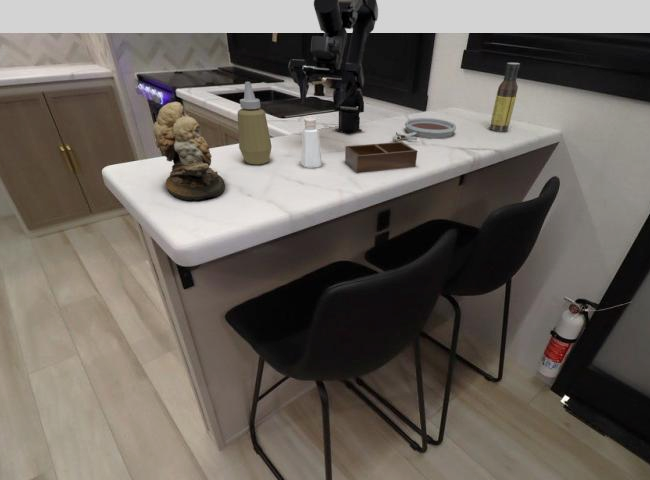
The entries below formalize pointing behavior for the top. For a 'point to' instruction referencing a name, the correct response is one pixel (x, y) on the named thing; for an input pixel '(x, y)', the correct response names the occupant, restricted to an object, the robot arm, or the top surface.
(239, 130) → the squeeze bottle
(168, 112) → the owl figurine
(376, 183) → the top surface
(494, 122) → the sauce bottle
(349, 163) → the divided wooden tray
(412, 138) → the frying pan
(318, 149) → the pepper shaker
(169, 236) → the top surface
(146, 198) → the top surface
